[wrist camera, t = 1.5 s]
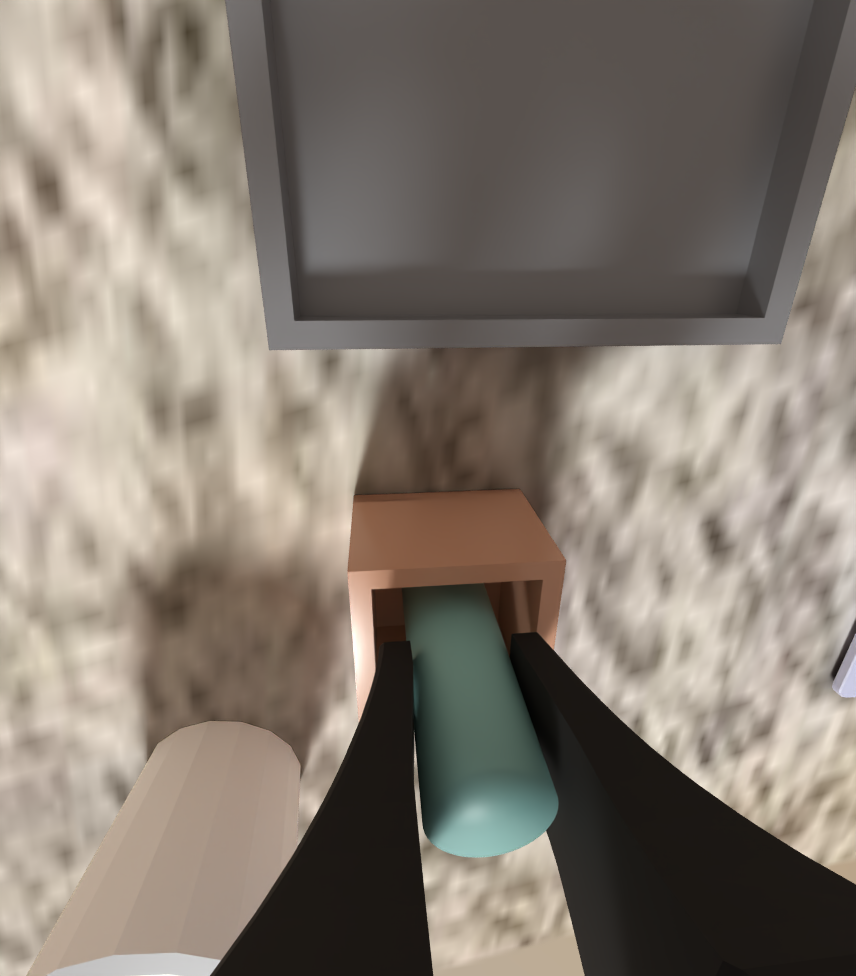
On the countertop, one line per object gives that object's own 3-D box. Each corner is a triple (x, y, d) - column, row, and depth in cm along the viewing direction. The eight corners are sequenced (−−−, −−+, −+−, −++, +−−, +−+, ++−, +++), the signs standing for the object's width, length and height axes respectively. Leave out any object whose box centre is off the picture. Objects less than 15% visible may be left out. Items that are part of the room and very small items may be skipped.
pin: (478, 536, 15) (566, 761, 8) (475, 600, 16) (551, 849, 9) (399, 539, 15) (422, 775, 8) (401, 605, 16) (422, 864, 9)
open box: (519, 488, 15) (566, 560, 11) (508, 620, 17) (544, 716, 13) (353, 495, 15) (347, 571, 11) (362, 629, 17) (359, 731, 13)
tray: (858, -205, 10) (971, -313, 8) (726, 333, 14) (780, 344, 12) (215, -270, 8) (173, -415, 7) (283, 337, 13) (269, 349, 11)
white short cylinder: (104, 719, 17) (-55, 986, 11) (304, 697, 18) (266, 940, 11) (156, 840, 20) (55, 1107, 14) (327, 819, 21) (307, 1066, 14)
